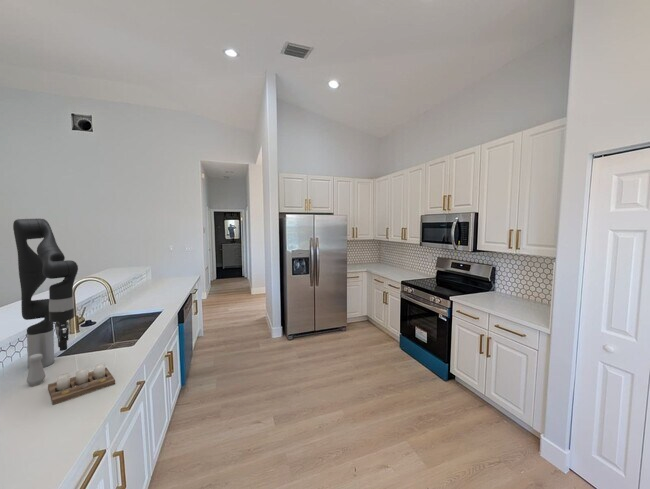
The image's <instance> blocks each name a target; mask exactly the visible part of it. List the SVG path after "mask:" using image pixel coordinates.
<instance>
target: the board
mask: <svg viewBox="0 0 650 489" xmlns="http://www.w3.org/2000/svg"><path fill="white" fill-rule="evenodd" d="M115 384H116V378H115V377H114V376H113V375H112V373H111V372H110V370H109V369H108V368H107V367H105V376H104V377H102V378H99V379H94V370H93V371H90V372H89V371H88V381H87V382H86V383H83V384H76V375H75V376H73V377H70V387H69V388H67V389H64V390H57V381H55V382H52V383H48V384H47V389H48V393H49V396H50V400H51V404H52V406H54V405H57V404H60V403H62V402H63V403H64V402H66V401H69V400H71V399H75V398H78V397H81V396H83V395H87V394H90V393H92V392H96V391H99V390H102V389H104V388H107V387H110V386H113V385H115Z"/></svg>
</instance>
